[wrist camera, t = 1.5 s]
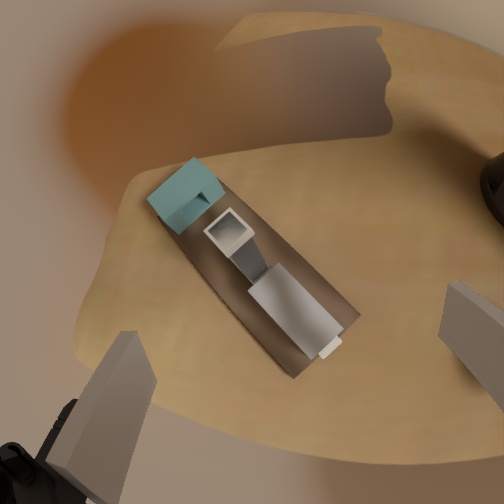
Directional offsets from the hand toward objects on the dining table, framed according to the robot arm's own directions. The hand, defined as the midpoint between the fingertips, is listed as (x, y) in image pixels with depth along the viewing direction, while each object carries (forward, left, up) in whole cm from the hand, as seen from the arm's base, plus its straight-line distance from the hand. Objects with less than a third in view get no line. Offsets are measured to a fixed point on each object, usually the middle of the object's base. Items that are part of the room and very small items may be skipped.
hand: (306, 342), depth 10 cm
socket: (-2, -29, -26) cm, 39 cm away
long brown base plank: (-2, -15, -27) cm, 31 cm away
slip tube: (-2, -9, -25) cm, 26 cm away
